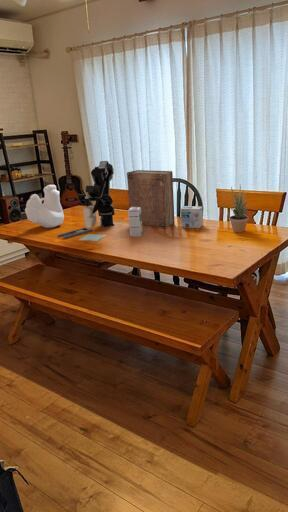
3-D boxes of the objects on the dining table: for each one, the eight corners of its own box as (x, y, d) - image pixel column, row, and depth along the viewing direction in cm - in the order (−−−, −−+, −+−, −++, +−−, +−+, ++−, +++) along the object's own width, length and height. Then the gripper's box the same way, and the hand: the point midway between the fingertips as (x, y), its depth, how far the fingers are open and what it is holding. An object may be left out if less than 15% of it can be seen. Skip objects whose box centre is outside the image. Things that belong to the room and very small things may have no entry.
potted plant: (227, 232, 210) (227, 184, 202) (232, 227, 217) (232, 181, 210) (246, 234, 205) (247, 184, 197) (251, 229, 213) (252, 181, 205)
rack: (85, 230, 233) (84, 227, 233) (92, 231, 228) (91, 229, 228) (57, 237, 222) (57, 234, 221) (64, 239, 217) (64, 236, 216)
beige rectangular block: (92, 223, 218) (89, 205, 214) (96, 224, 216) (95, 205, 213) (85, 227, 211) (83, 208, 208) (90, 227, 210) (88, 208, 207)
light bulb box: (180, 227, 225) (180, 208, 222) (184, 224, 231) (183, 205, 227) (199, 228, 221) (199, 208, 218) (202, 225, 227) (202, 206, 223)
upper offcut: (81, 231, 230) (80, 229, 229) (84, 232, 227) (84, 230, 227) (75, 233, 227) (74, 231, 226) (78, 234, 224) (78, 232, 224)
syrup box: (140, 236, 213) (139, 209, 209) (129, 236, 215) (127, 209, 210) (143, 233, 219) (141, 206, 214) (132, 233, 220) (130, 207, 215)
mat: (88, 234, 223) (88, 234, 223) (106, 235, 219) (106, 235, 219) (78, 240, 213) (78, 239, 213) (97, 241, 209) (96, 240, 209)
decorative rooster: (58, 221, 259) (52, 182, 251) (70, 225, 247) (65, 184, 239) (20, 229, 244) (13, 188, 236) (32, 234, 232) (25, 190, 225)
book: (175, 224, 233) (172, 171, 223) (165, 228, 226) (162, 173, 216) (140, 220, 248) (137, 170, 238) (130, 223, 241) (126, 172, 232)
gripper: (76, 179, 215) (67, 204, 209) (108, 179, 208) (100, 204, 202) (85, 191, 225) (77, 215, 218) (116, 191, 217) (108, 216, 211)
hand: (90, 213), depth 212 cm, fingers closed on beige rectangular block, 3 cm apart
